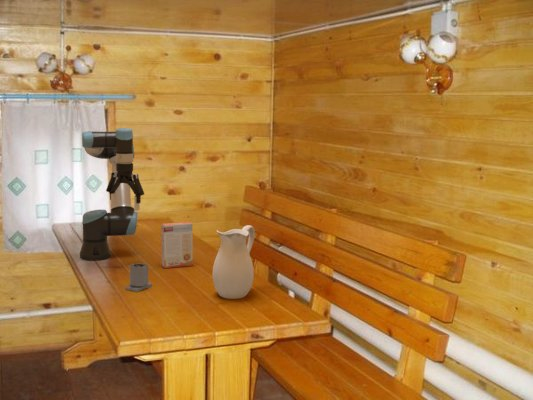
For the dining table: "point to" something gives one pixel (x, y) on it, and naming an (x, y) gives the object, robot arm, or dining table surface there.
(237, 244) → the pitcher
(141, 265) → the tube
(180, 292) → the dining table surface
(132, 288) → the shaft stand
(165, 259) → the cracker box
